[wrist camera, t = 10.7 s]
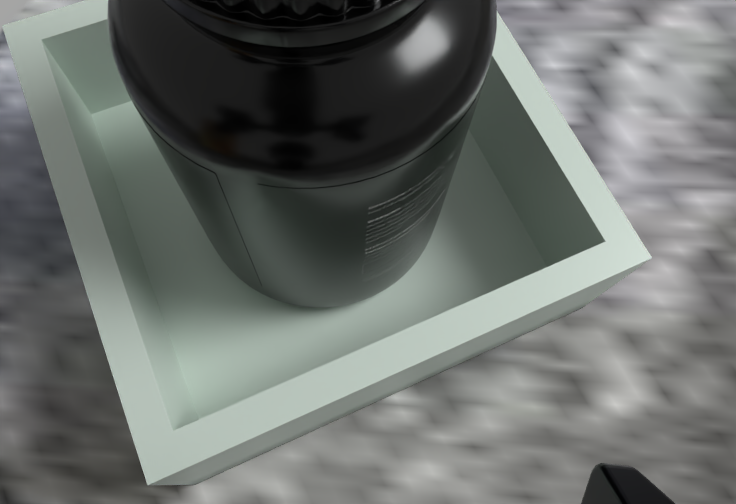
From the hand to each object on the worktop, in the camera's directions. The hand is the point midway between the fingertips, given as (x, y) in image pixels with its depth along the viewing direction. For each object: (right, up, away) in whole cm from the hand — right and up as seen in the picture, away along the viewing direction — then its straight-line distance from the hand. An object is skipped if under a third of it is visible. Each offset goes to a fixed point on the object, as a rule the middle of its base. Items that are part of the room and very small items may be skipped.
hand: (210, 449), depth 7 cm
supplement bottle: (0, +4, +12) cm, 12 cm away
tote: (0, +4, +12) cm, 13 cm away
